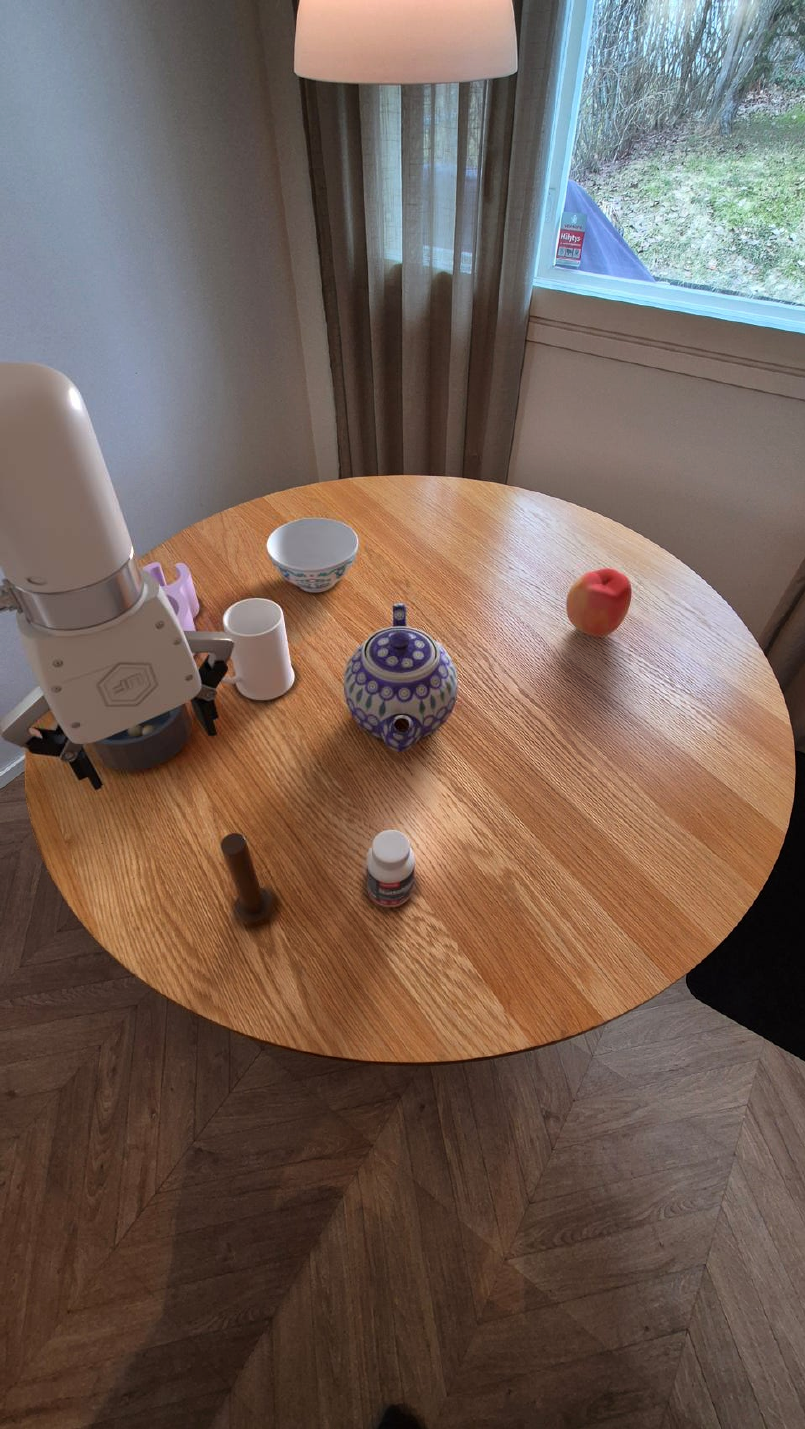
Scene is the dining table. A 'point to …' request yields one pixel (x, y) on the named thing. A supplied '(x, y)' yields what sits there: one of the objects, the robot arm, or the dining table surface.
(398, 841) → the pill bottle
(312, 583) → the chinaware
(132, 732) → the bead
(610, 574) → the apple
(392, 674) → the teapot
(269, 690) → the mug
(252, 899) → the rod
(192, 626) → the clip
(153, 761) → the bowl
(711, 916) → the dining table surface
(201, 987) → the dining table surface
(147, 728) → the bead
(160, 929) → the dining table surface
